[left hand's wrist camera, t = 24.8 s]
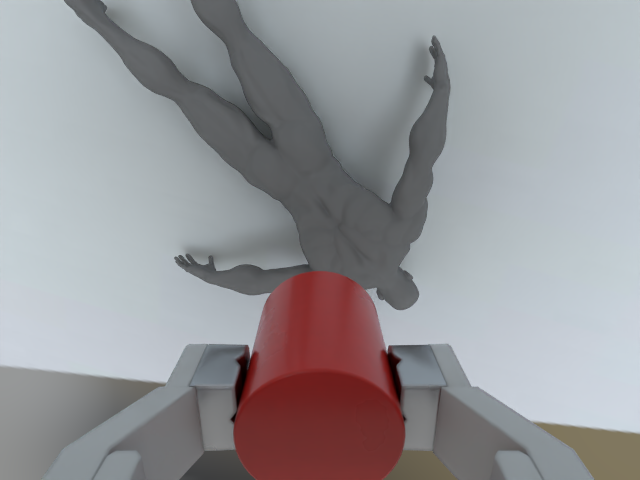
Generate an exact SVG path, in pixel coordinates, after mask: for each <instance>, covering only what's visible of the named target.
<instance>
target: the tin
mask: <svg viewBox="0 0 640 480" xmlns="http://www.w3.org/2000/svg"><path fill="white" fill-rule="evenodd" d="M405 437H406V434H405V424H404V419H403V415H402V411H401V407H400V403H399V399H398V395H397V391H396V387H395V383H394V379H393V375H392V371H391V367H390V363H389V359H388V355H387V351H386V347H385V343H384V339H383V335H382V331H381V327H380V323H379V319H378V315H377V311H376V308H375V305H374V303H373V301H372V299H371V297H370V296H369V294H368V293H367V292H366V291H365V290H364V289H363V288H362V287H361V286H360V285H359V284H358V283H356V282H355V281H353V280H352V279H350V278H348V277H346V276H343V275H341V274H337V273H334V272H327V271H312V272H306V273H301V274H299V275H296V276H293V277H291V278H289V279H287V280H286V281H284V282H283V283H281V284H280V285H279V286H278V287H277V288H275V290H274V291H273V292H272V293H271V294H270V296H269V297H268V299H267V301H266V303H265V305H264V308H263V311H262V315H261V319H260V323H259V327H258V331H257V335H256V339H255V343H254V347H253V351H252V355H251V359H250V363H249V367H248V371H247V375H246V378H245V382H244V386H243V390H242V394H241V398H240V402H239V406H238V410H237V414H236V418H235V422H234V429H233V439H234V445H235V449H236V452H237V455H238V457H239V459H240V461H241V463H242V464H243V466H244V467H245V469H246V470H247V471H248V472H249V474H251V475H252V476H253V477H254V478H255V479H256V480H383V479H384V478H385V477H386V476H387V475H388V474H389V473H390V472H391V471H392V470H393V468H394V467H395V465H396V464H397V462H398V460H399V458H400V456H401V454H402V451H403V448H404V444H405Z"/></svg>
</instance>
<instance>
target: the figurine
mask: <svg viewBox="0 0 640 480" xmlns="http://www.w3.org/2000/svg"><path fill="white" fill-rule="evenodd" d="M64 1H65V3H66V4H67V5H68V6H70V7H71V8H72V9H73V10H74V11H75V13H76V14H77V16H78V17H79V18H81V19H82V21H83V22H85V23H86V24H87V25H89V26H90V27H92V28H93V29H95V30H96V31H97V32H98V33H99V34H100V35H101V36H102V37H103V38H104V39H105V40H106V41H107V42H108V43H109V44H110V45H111V46H112V47H113V49H114V50H115V51H116V52H117V53H118V54H119V56H120V57H121V59H122V60H123V62H124V64H125V65H126V67H127V68H128V69H129V70H130V72H131V73H132V74H133V75H134V76H135V77H136V78H137V79H138V81H139V82H140V83H141V84H142V85H143V86H145V87H146V88H148V89H149V90H151V91H152V92H154V93H156V94H159V95H162V96H165V97H167V98H169V99H172V100H173V101H175V102H176V103H177V104H178V106H179V107H180V108H181V110H182V111H183V113H184V114H185V116H186V117H187V118H188V120H189V121H190V123H191V124H192V126H193V127H194V129H195V130H196V132H197V133H198V134H199V135H200V137H201V138H202V139H204V140H205V141H206V142H207V143H208V145H210V146H211V147H212V148H213V149H214V150H215V151H216V152H217V153H218V154H219V155H220V156H221V157H222V158H223V160H224V161H226V162H227V163H228V164H229V165H230V166H232V167H233V168H235V169H236V170H238V171H239V172H240V173H241V174H242V175H243V176H244V178H245V179H246V180H247V181H248V182H249V183H250V184H251V185H253V186H255V187H257V188H259V189H261V190H263V191H265V192H266V193H268V194H269V195H270V196H271V197H273V198H274V199H276V200H279V201H280V202H281V203H282V204H283V205H284V206H285V208H286V209H287V210H288V211H289V212H290V213H291V214H292V216H293V219H294V221H295V223H296V224H297V229H298V232H299V239H300V244H301V247H302V250H303V252H304V254H305V257H306V259H307V261H308V263H309V264H307V265H306V264H305V265H298V266H294V267H287V268H279V269H269V270H262V269H261V268H259V267H257V266H254V265H239V266H236V267H234V268H232V269H230V270H225V271H216V269H215V267H214V262H213V257H212V256H209V264H206V265H200V264H198V263H197V262H195V261H194V259H193V258H192V257H191V256H190V255H189V254H186V257H187V259H188V260H189V261H190V262H191V264H190V263H189V262H188V261H187V260H185V259H184V257H183V256H181V255H179V256H178V257H179V258H180V259H179V258H178V257H174V259H175V260H176V263H177V264H178V265H179V266H180V267H181V268H183V269H185V271H186V272H189V273H191V274H193V275H194V276H197V277H199V278H200V279H202V280H204V281H206V282H208V283H210V284H215V285H218V286H221V287H224V288H228V289H232V290H234V291H237V292H239V293H242V294H247V295H260V294H264V293H272V292H273V291H274V290H275V288H277V287H278V286H279V285H280V284H281V283H283V282H284V281H286V280H287V279H289V278H291V277H293V276H296V275H299V274H301V273H306V272H312V271H327V272H334V273H337V274H341V275H343V276H346V277H348V278H350V279H352V280H353V281H355V282H356V283H358V284H359V285H360V286H361V287H362V288H363V289H364V290H366V289H371V288H377V295H378V298H379V299H380V300H384V299H385V301H386V302H387V303H389V304H390V305H391V306H392V307H393V308H395V309H397V310H404V309H407V308H409V307H411V306H412V305H413V304H414V303H415V302H416V301H417V299H418V297H419V291H418V289H417V287H416V285H415V284H414V282H413V281H412V279H413V277H412V275H410V274H409V273H408V272H407V271H403V270H402V269H401V268H400V267H399V265H400V263H401V262H402V260H403V259H404V257H405V255H406V254H407V253H408V252H409V250H410V243H412V242H414V241H415V240H416V239H418V237H419V236H420V234H421V232H422V229H423V225H424V223H425V220H426V216H427V208H428V202H427V198H426V197H427V195H428V193H429V191H430V189H431V187H432V184H433V173H432V166H433V164H434V162H435V161H436V160H437V158H438V157H439V155H440V154H441V152H442V150H443V147H444V144H445V140H446V120H447V111H448V100H449V94H450V80H449V76H448V69H447V62H446V59H445V55H444V53H443V51H442V49H441V46H440V43H439V41H438V40H437V38H436V36H433V37H432V45H433V46H434V48H433V46H430V48H429V51H430V53H431V55H432V56H433V58H434V59H435V65H434V67H435V68H434V73H433V77H432V78H429V77H428V76H425V77H424V80H425V81H426V82H427V83H428V84H429V85H431V87H432V88H433V90H434V91H433V93H432V96H431V98H430V101H429V103H428V105H427V107H426V108H425V110H424V112H423V114H422V115H421V116H420V117H419V119H418V120H417V121H416V122H415V124H414V125H413V127H412V129H411V132H410V136H409V148H410V154H409V158H408V160H407V162H406V165H405V168H404V172H403V175H402V177H401V179H400V181H399V182H398V184H397V186H396V188H395V190H394V193H393V195H392V200H391V203H390V204H388V203H386V202H385V201H383V200H382V199H380V198H379V197H378V196H377V195H376V194H374V193H373V192H371V191H370V190H367V189H364V188H363V187H362V186H361V185H360V184H358V183H356V182H355V181H354V180H353V179H352V178H351V177H350V176H348V175H347V174H346V173H345V172H344V171H343V169H342V167H341V165H340V163H339V162H338V161H337V160H336V159H335V157H333V155H332V150H331V148H330V146H329V145H328V143H327V141H326V136H325V132H324V130H323V126H322V124H321V121H320V119H319V118H318V116H317V115H316V114H315V113H314V111H313V110H312V108H311V105H310V103H309V101H308V99H307V97H306V95H305V93H304V92H303V91H302V89H301V88H300V87H299V86H298V84H297V83H296V82H295V80H294V78H293V76H292V75H291V73H290V71H289V70H288V69H287V68H286V67H285V66H284V65H283V64H282V63H281V62H280V61H279V60H278V58H277V57H276V56H275V55H274V54H273V53H272V52H271V51H270V50H269V49H268V48H267V47H266V46H265V45H264V44H263V42H262V41H260V40H259V39H258V38H257V37H256V36H255V35H254V34H253V33H252V32H251V31H250V30H249V29H248V27H247V26H246V24H245V23H244V21H243V19H242V16H241V13H240V9H239V7H238V4H237V2H236V1H235V0H191V3H192V5H193V8H194V10H195V12H196V14H197V15H198V17H199V18H200V19H201V21H202V22H203V23H204V24H205V25H206V26H207V27H208V28H209V29H210V30H211V31H212V32H214V33H215V34H216V35H217V36H218V37H219V38H220V39H221V40H222V41H223V42H224V43H225V44H226V46H227V49H228V52H229V56H230V60H231V65H232V67H233V69H234V71H235V73H236V75H237V76H238V78H239V80H240V83H241V85H242V88H243V92H244V95H245V98H246V100H247V102H248V104H249V105H250V107H251V109H252V110H253V112H254V113H255V114H256V115H257V116H258V117H259V118H260V119H261V120H262V121H263V122H265V123H266V124H267V125H268V126H269V128H270V129H271V132H272V139H271V140H269V139H267V138H265V137H264V136H263V135H262V134H261V133H260V131H259V130H258V129H257V128H256V127H255V125H254V124H253V123H252V122H251V120H250V119H249V118H248V117H247V116H246V115H245V114H244V113H243V112H242V111H241V110H240V109H239V108H238V107H237V106H235V105H234V104H232V103H230V102H228V101H226V100H224V99H222V98H221V97H220V96H219V95H217V94H216V93H215V92H213V91H212V90H211V89H209V88H207V87H205V86H202V85H200V84H197V83H194V82H191V81H189V80H188V79H186V78H185V77H184V76H183V75H182V74H181V73H180V72H179V71H178V69H177V68H176V66H175V65H174V63H173V62H172V61H171V60H170V59H169V58H168V57H167V56H166V55H165V54H163V53H162V52H161V51H159V50H158V49H156V48H155V47H153V46H151V45H149V44H146V43H144V42H142V41H139V40H137V39H135V38H133V37H132V36H130V35H129V34H128V33H126V32H125V31H124V30H122V29H121V28H120V27H119V26H117V25H116V24H115V23H114V22H113V21H112V20H111V19H109V18H108V17H107V15H106V14H105V13H104V12H105V11H106V9H107V6H106V5H104V3H103V2H102V1H100V0H64ZM180 260H181V261H180Z"/></svg>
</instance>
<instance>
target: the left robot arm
mask: <svg viewBox="0 0 640 480" xmlns="http://www.w3.org/2000/svg"><path fill="white" fill-rule="evenodd" d="M387 355H388V359H389V363H390V367H391V371H392V375H393V379H394V383H395V387H396V391H397V395H398V399H399V403H400V407H401V411H402V415H403V419H404V424H405V434H406V437H405V444H404V448H403V450H425V451H433V453H434V454H435V455H436V456H437V457H438V459H439V460H440V461H441V462H442V463H443V464H444V465H445V466H446V467H447V468H448V469H449V471H450V472H451V473H452V474H453V475H454V476H455V477H456V478H457V479H458V480H594V478H593V477H592V475H591V474H590V472H589V471H588V470H587V468H586V467H585V465H584V464H583V462H582V461H581V459H580V458H579V457H578V455H577V454H576V452H575V451H574V449H572V448H571V447H569V446H567V445H566V444H564V443H563V442H561V441H560V440H558V439H557V438H555V437H554V436H552V435H551V434H549V433H548V432H546V431H545V430H543V429H542V428H540V427H538V426H537V425H535V424H534V423H532V422H531V421H529V420H528V419H526V418H525V417H523V416H522V415H520V414H519V413H517V412H515V411H514V410H512V409H511V408H509V407H508V406H506V405H505V404H503V403H502V402H500V401H499V400H497V399H496V398H494V397H493V396H491V395H489V394H488V393H486V392H485V391H483V390H482V389H480V388H479V387H472V386H471V384H470V383H469V381H468V379H467V377H466V375H465V373H464V371H463V369H462V367H461V365H460V363H459V361H458V359H457V357H456V355H455V353H454V351H453V349H452V347H451V346H450V345H449V344H428V345H389V347H388V353H387ZM249 362H250V352H249V347H248V345H225V344H209V345H208V344H189V345H187V346H186V347H185V349H184V351H183V353H182V355H181V357H180V359H179V360H178V362H177V364H176V366H175V368H174V370H173V372H172V374H171V376H170V378H169V380H168V382H167V384H166V386H165V387H158V388H156V389H155V390H153V391H152V392H150V393H148V394H147V395H145V396H144V397H142V398H141V399H139V400H138V401H136V402H135V403H133V404H131V405H130V406H128V407H127V408H125V409H124V410H122V411H121V412H119V413H118V414H116V415H115V416H113V417H111V418H110V419H108V420H107V421H105V422H104V423H102V424H101V425H99V426H97V427H96V428H94V429H93V430H91V431H90V432H88V433H86V434H85V435H83V436H82V437H80V438H79V439H77V440H76V441H74V442H73V443H71V444H69V445H68V446H66V447H65V448H63V449H62V451H61V452H60V454H59V455H58V456H57V458H56V459H55V461H54V462H53V463H52V465H51V466H50V468H49V469H48V470H47V472H46V473H45V475H44V476H43V477H42V479H41V480H179V479H180V478H181V477H182V476H183V475H184V474H185V473H186V471H187V470H188V469H189V468H190V467H191V466H192V465H193V464H194V463H195V462H196V461H197V460H198V459H199V457H200V456H201V455H202V454H203V453H204V451H211V450H236V449H235V445H234V439H233V429H234V422H235V418H236V414H237V410H238V406H239V402H240V398H241V394H242V390H243V386H244V382H245V378H246V375H247V371H248V366H249Z"/></svg>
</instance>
